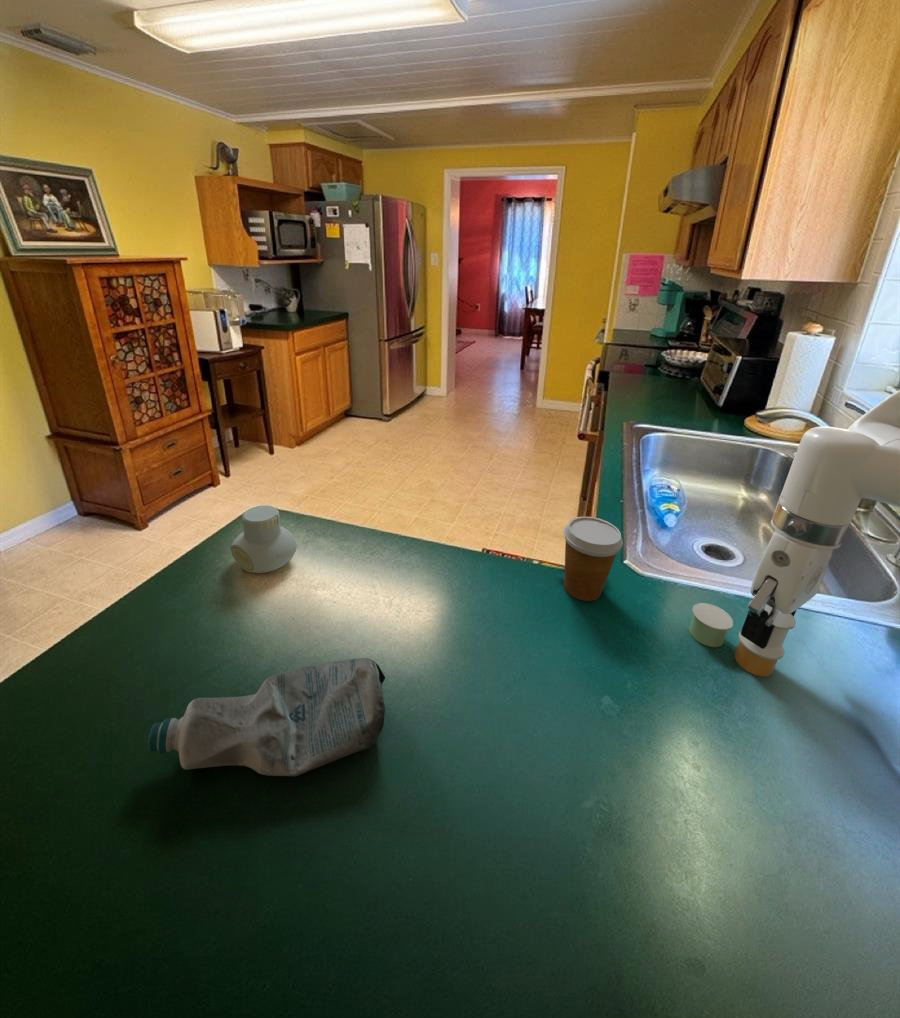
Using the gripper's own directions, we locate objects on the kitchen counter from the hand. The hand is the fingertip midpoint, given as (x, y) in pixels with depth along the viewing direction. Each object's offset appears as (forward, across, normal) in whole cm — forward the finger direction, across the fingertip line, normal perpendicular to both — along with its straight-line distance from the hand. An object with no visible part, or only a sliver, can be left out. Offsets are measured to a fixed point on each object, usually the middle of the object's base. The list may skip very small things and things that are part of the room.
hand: (764, 631), depth 67 cm
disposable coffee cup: (+6, -10, +24) cm, 26 cm away
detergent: (+6, -62, +23) cm, 66 cm away
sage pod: (+6, -1, +6) cm, 9 cm away
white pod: (0, 0, 0) cm, 0 cm away
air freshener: (+7, -55, +57) cm, 79 cm away
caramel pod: (+6, 0, 0) cm, 6 cm away
